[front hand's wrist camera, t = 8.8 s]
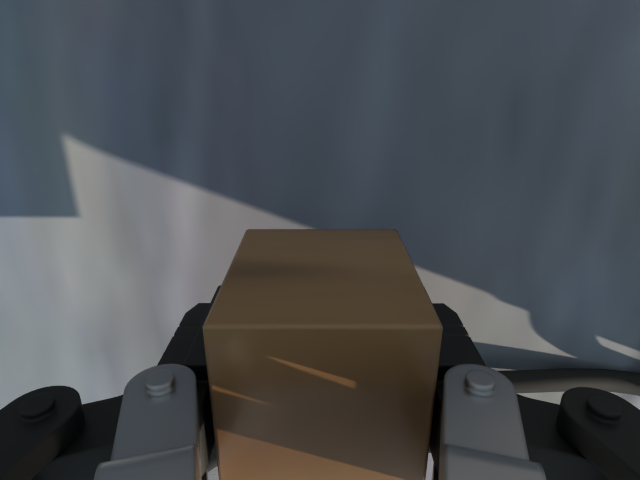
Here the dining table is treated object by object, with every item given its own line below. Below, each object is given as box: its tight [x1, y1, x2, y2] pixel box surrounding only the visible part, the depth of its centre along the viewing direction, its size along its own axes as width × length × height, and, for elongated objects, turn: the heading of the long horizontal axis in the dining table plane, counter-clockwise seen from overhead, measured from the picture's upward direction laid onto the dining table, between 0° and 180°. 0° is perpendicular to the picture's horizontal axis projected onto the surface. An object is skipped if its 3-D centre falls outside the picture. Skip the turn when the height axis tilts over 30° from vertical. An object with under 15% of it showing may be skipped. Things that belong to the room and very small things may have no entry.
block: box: [202, 229, 443, 480], centre depth 10 cm, size 5×4×5 cm
